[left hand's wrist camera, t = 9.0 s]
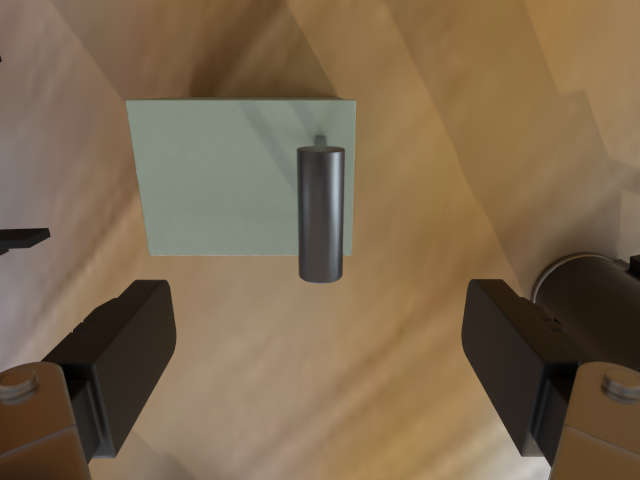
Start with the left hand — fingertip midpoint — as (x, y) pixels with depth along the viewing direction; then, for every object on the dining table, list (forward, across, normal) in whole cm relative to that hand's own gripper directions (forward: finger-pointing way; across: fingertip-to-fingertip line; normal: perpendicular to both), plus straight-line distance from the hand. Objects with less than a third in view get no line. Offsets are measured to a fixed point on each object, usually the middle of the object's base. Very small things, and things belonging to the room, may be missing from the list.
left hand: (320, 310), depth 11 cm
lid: (+17, -5, 0) cm, 18 cm away
